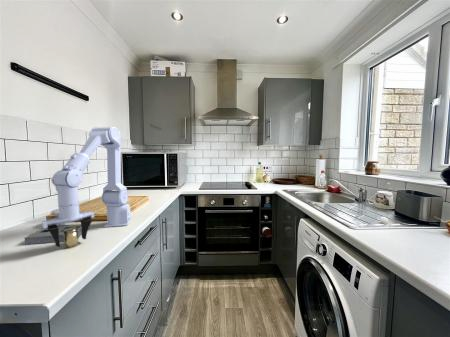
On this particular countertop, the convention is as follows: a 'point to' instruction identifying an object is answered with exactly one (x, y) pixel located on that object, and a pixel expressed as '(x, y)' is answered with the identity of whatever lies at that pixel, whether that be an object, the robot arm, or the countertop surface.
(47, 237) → the fitting plate
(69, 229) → the pipe stub
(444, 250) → the countertop surface
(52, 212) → the showerhead
